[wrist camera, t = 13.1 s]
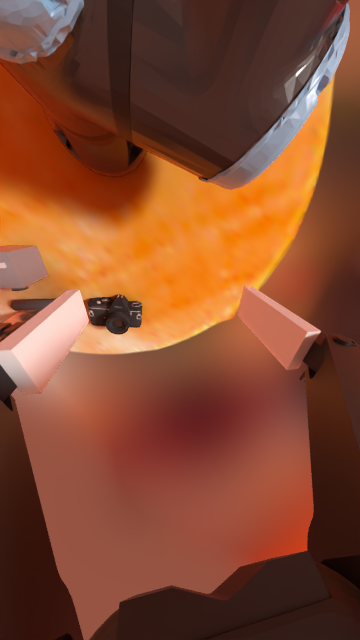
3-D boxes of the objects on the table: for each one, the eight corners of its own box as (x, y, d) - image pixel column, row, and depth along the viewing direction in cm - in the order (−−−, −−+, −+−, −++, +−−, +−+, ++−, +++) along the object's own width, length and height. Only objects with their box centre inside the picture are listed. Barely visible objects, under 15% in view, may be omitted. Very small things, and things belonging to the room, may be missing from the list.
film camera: (80, 335, 38) (80, 305, 31) (90, 313, 43) (91, 284, 37) (136, 344, 42) (146, 320, 36) (139, 323, 48) (148, 299, 41)
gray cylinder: (22, 307, 38) (14, 312, 36) (17, 298, 37) (9, 302, 35) (67, 306, 39) (62, 310, 37) (64, 297, 38) (59, 301, 36)
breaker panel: (19, 306, 38) (-43, 344, 26) (78, 304, 39) (45, 340, 28) (27, 321, 40) (-27, 363, 28) (82, 319, 41) (54, 357, 30)
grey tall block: (8, 245, 31) (-36, 252, 24) (37, 245, 32) (2, 252, 25) (25, 280, 35) (-9, 295, 28) (50, 279, 36) (23, 294, 28)
